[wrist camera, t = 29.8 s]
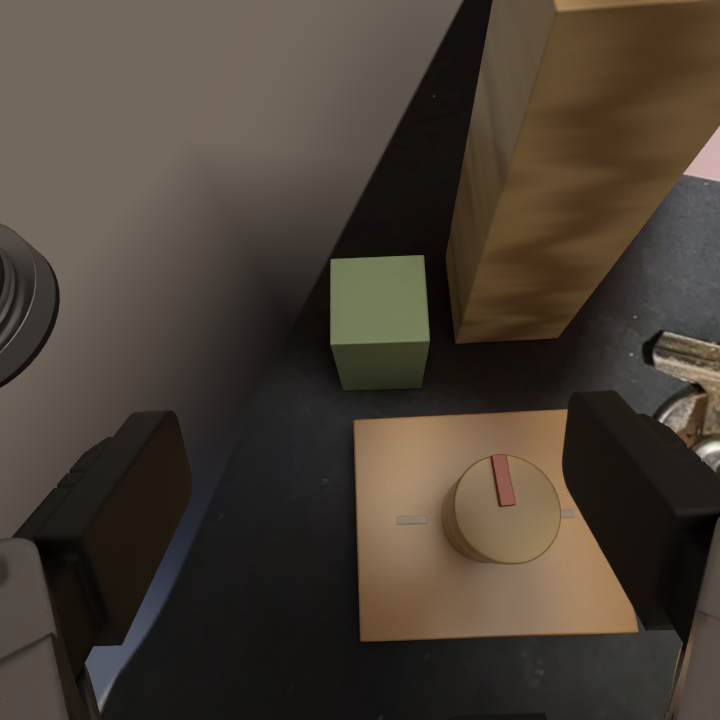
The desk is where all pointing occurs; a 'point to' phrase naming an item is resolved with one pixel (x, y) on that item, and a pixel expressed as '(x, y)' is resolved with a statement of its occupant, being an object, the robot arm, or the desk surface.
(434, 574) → the lock plate
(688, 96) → the stand
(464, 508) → the lock knob
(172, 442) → the robot arm
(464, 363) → the desk surface
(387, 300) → the block
